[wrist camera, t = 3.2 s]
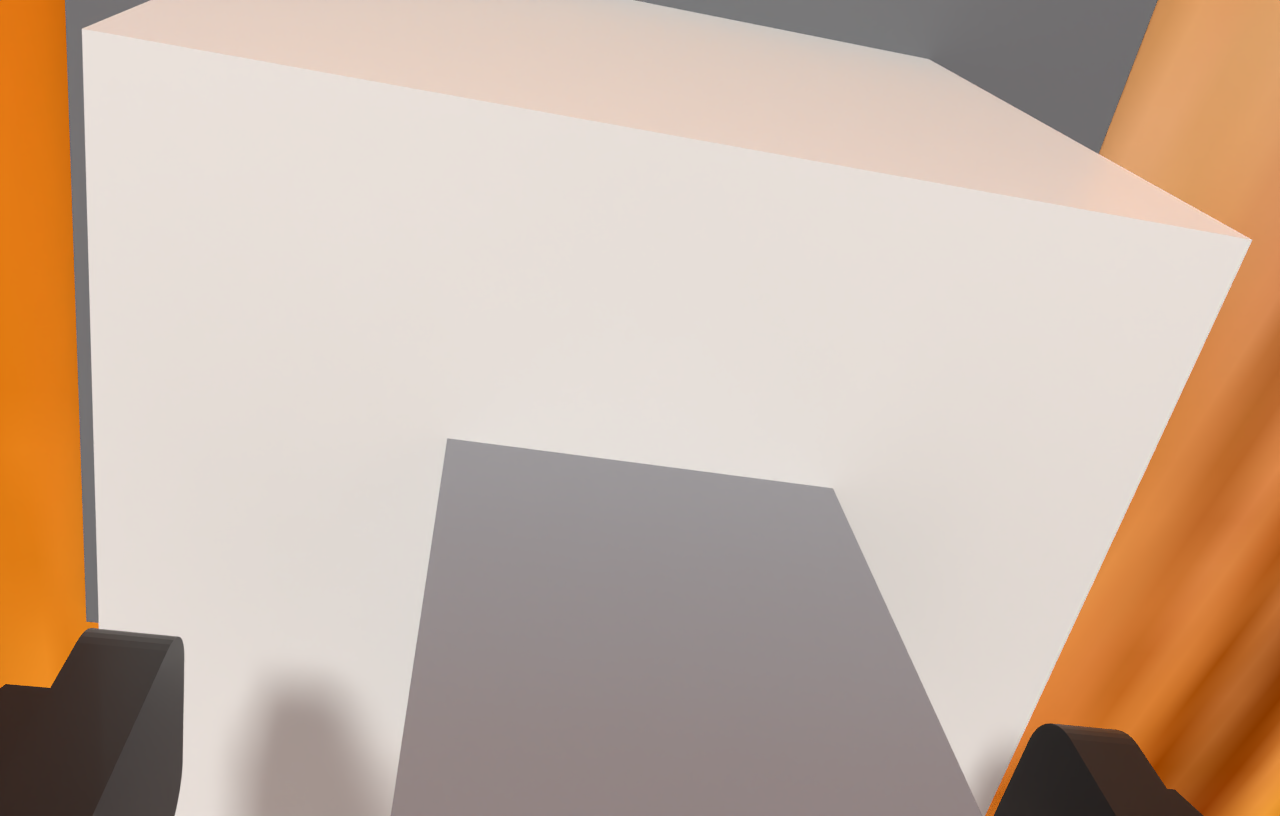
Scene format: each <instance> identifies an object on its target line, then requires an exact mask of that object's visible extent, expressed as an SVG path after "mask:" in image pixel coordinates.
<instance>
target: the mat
mask: <svg viewBox="0 0 1280 816" xmlns="http://www.w3.org/2000/svg"><path fill="white" fill-rule="evenodd" d="M147 1H150V0H65V11H66V40H67V69H68V98H69V127H70V156H71V185H72V214H73V243H74V272H75V301H76V330H77V359H78V388H79V417H80V446H81V475H82V504H83V533H84V562H85V591H86V619H87V622H97V623H99V615H98V580H97V545H96V510H95V474H94V439H93V404H92V369H91V333H90V298H89V263H88V228H87V192H86V157H85V122H84V87H83V51H82V28H85V27H87V26H90V25H92V24H94V23H97V22H99V21H102V20H104V19H106V18H109V17H111V16H114V15H116V14H119V13H121V12H123V11H126V10H128V9H131V8H133V7H135V6H138V5H140V4H143V3H145V2H147ZM636 1H641V2H646V3H651V4H656V5H661V6H666V7H671V8H676V9H681V10H686V11H691V12H696V13H701V14H706V15H711V16H716V17H721V18H726V19H731V20H736V21H741V22H746V23H751V24H756V25H761V26H766V27H771V28H776V29H781V30H786V31H791V32H796V33H801V34H806V35H811V36H816V37H821V38H826V39H831V40H836V41H841V42H846V43H851V44H856V45H861V46H866V47H871V48H876V49H881V50H886V51H891V52H896V53H901V54H906V55H911V56H916V57H921V58H926V59H930V60H931V61H933V62H935V63H937V64H938V65H940V66H942V67H944V68H946V69H947V70H949V71H951V72H953V73H955V74H956V75H958V76H960V77H962V78H964V79H965V80H967V81H969V82H971V83H972V84H974V85H976V86H978V87H980V88H981V89H983V90H985V91H987V92H989V93H990V94H992V95H994V96H996V97H997V98H999V99H1001V100H1003V101H1005V102H1006V103H1008V104H1010V105H1012V106H1014V107H1015V108H1017V109H1019V110H1021V111H1023V112H1024V113H1026V114H1028V115H1030V116H1031V117H1033V118H1035V119H1037V120H1039V121H1040V122H1042V123H1044V124H1046V125H1048V126H1049V127H1051V128H1053V129H1055V130H1057V131H1058V132H1060V133H1062V134H1064V135H1065V136H1067V137H1069V138H1071V139H1073V140H1074V141H1076V142H1078V143H1080V144H1082V145H1083V146H1085V147H1087V148H1089V149H1090V150H1092V151H1094V152H1096V153H1098V154H1099V151H1100V149H1101V146H1102V143H1103V141H1104V138H1105V136H1106V133H1107V130H1108V128H1109V125H1110V123H1111V120H1112V117H1113V115H1114V112H1115V110H1116V107H1117V104H1118V102H1119V99H1120V97H1121V94H1122V91H1123V89H1124V86H1125V84H1126V81H1127V78H1128V76H1129V73H1130V71H1131V68H1132V65H1133V63H1134V60H1135V58H1136V55H1137V52H1138V50H1139V47H1140V45H1141V42H1142V40H1143V37H1144V34H1145V32H1146V29H1147V27H1148V24H1149V21H1150V19H1151V16H1152V14H1153V11H1154V8H1155V6H1156V3H1157V1H1158V0H636Z"/></svg>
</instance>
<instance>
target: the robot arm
mask: <svg viewBox="0 0 1280 816" xmlns="http://www.w3.org/2000/svg"><path fill="white" fill-rule="evenodd" d="M183 714H184V644H183V640H182V639H181V637H178V636H168V635H158V634H147V633H137V632H127V631H116V630H106V629H96V628H90V629H87V630H86V631H85V632H84V633H83V634H82V635H81V636H80V638H79V639H78V641H77V643H76V644H75V646H74V648H73V650H72V651H71V653H70V655H69V657H68V658H67V660H66V662H65V664H64V665H63V667H62V669H61V670H60V672H59V674H58V676H57V677H56V679H55V681H54V683H53V684H52V686H51V688H43V687H32V686H21V685H9V684H5V685H4V686H3V687H1V688H0V816H175V812H176V808H177V803H178V798H179V792H180V786H181V778H182V766H183ZM994 816H1203V815H1202V814H1201V813H1200V812H1199V811H1197V810H1196V809H1195V808H1194V807H1193V806H1192V805H1191V804H1190V803H1189V802H1188V801H1186V800H1185V799H1184V798H1183V797H1182V796H1181V795H1180V794H1179V793H1178V792H1177V791H1176V790H1173V789H1167V788H1166V787H1165V785H1164V784H1163V782H1162V781H1161V779H1160V778H1159V776H1158V775H1157V773H1156V772H1155V770H1154V769H1153V767H1152V766H1151V764H1150V763H1149V761H1148V760H1147V758H1146V757H1145V755H1144V754H1143V752H1142V751H1141V749H1140V748H1139V746H1138V745H1137V744H1136V742H1135V741H1134V740H1133V739H1132V738H1131V737H1130V736H1129V735H1128V734H1126V733H1124V732H1122V731H1119V730H1113V729H1102V728H1092V727H1081V726H1071V725H1061V724H1044V725H1042V726H1040V727H1039V728H1038V729H1036V731H1035V732H1034V733H1033V734H1032V736H1031V738H1030V740H1029V742H1028V744H1027V746H1026V748H1025V750H1024V752H1023V754H1022V757H1021V759H1020V761H1019V763H1018V765H1017V767H1016V769H1015V772H1014V774H1013V776H1012V778H1011V780H1010V782H1009V784H1008V786H1007V789H1006V791H1005V793H1004V795H1003V797H1002V799H1001V801H1000V803H999V806H998V808H997V810H996V812H995V814H994Z"/></svg>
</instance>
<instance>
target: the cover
mask: <svg viewBox="0 0 1280 816" xmlns="http://www.w3.org/2000/svg"><path fill="white" fill-rule="evenodd" d="M82 51H83V87H84V122H85V157H86V192H87V228H88V263H89V298H90V333H91V369H92V404H93V439H94V474H95V510H96V545H97V580H98V615H99V629H106V630H116V631H127V632H137V633H147V634H158V635H168V636H178V637H181V639H182V640H183V644H184V714H183V766H182V778H181V786H180V792H179V798H178V803H177V808H176V812H175V816H985V814H986V812H987V810H988V808H989V806H990V804H991V802H992V799H993V797H994V795H995V793H996V791H997V789H998V786H999V784H1000V782H1001V780H1002V778H1003V776H1004V774H1005V771H1006V769H1007V767H1008V765H1009V763H1010V761H1011V758H1012V756H1013V754H1014V752H1015V750H1016V748H1017V746H1018V743H1019V741H1020V739H1021V737H1022V735H1023V733H1024V730H1025V728H1026V726H1027V724H1028V722H1029V720H1030V718H1031V715H1032V713H1033V711H1034V709H1035V707H1036V705H1037V702H1038V700H1039V698H1040V696H1041V694H1042V692H1043V690H1044V687H1045V685H1046V683H1047V681H1048V679H1049V677H1050V674H1051V672H1052V670H1053V668H1054V666H1055V664H1056V662H1057V659H1058V657H1059V655H1060V653H1061V651H1062V649H1063V646H1064V644H1065V642H1066V640H1067V638H1068V636H1069V634H1070V631H1071V629H1072V627H1073V625H1074V623H1075V621H1076V618H1077V616H1078V614H1079V612H1080V610H1081V608H1082V606H1083V603H1084V601H1085V599H1086V597H1087V595H1088V593H1089V590H1090V588H1091V586H1092V584H1093V582H1094V580H1095V578H1096V575H1097V573H1098V571H1099V569H1100V567H1101V565H1102V562H1103V560H1104V558H1105V556H1106V554H1107V552H1108V550H1109V547H1110V545H1111V543H1112V541H1113V539H1114V537H1115V534H1116V532H1117V530H1118V528H1119V526H1120V524H1121V522H1122V519H1123V517H1124V515H1125V513H1126V511H1127V509H1128V506H1129V504H1130V502H1131V500H1132V498H1133V496H1134V494H1135V491H1136V489H1137V487H1138V485H1139V483H1140V481H1141V478H1142V476H1143V474H1144V472H1145V470H1146V468H1147V466H1148V463H1149V461H1150V459H1151V457H1152V455H1153V453H1154V450H1155V448H1156V446H1157V444H1158V442H1159V440H1160V438H1161V435H1162V433H1163V431H1164V429H1165V427H1166V425H1167V422H1168V420H1169V418H1170V416H1171V414H1172V412H1173V410H1174V407H1175V405H1176V403H1177V401H1178V399H1179V397H1180V394H1181V392H1182V390H1183V388H1184V386H1185V384H1186V382H1187V379H1188V377H1189V375H1190V373H1191V371H1192V369H1193V366H1194V364H1195V362H1196V360H1197V358H1198V356H1199V354H1200V351H1201V349H1202V347H1203V345H1204V343H1205V341H1206V338H1207V336H1208V334H1209V332H1210V330H1211V328H1212V326H1213V323H1214V321H1215V319H1216V317H1217V315H1218V313H1219V310H1220V308H1221V306H1222V304H1223V302H1224V300H1225V298H1226V295H1227V293H1228V291H1229V289H1230V287H1231V285H1232V282H1233V280H1234V278H1235V276H1236V274H1237V272H1238V270H1239V267H1240V265H1241V263H1242V261H1243V259H1244V257H1245V254H1246V252H1247V250H1248V248H1249V246H1250V244H1251V242H1252V240H1251V239H1250V238H1248V237H1246V236H1244V235H1242V234H1241V233H1239V232H1237V231H1235V230H1234V229H1232V228H1230V227H1228V226H1226V225H1225V224H1223V223H1221V222H1219V221H1217V220H1216V219H1214V218H1212V217H1210V216H1209V215H1207V214H1205V213H1203V212H1201V211H1200V210H1198V209H1196V208H1194V207H1192V206H1191V205H1189V204H1187V203H1185V202H1183V201H1182V200H1180V199H1178V198H1176V197H1175V196H1173V195H1171V194H1169V193H1167V192H1166V191H1164V190H1162V189H1160V188H1158V187H1157V186H1155V185H1153V184H1151V183H1149V182H1148V181H1146V180H1144V179H1142V178H1141V177H1139V176H1137V175H1135V174H1133V173H1132V172H1130V171H1128V170H1126V169H1124V168H1123V167H1121V166H1119V165H1117V164H1116V163H1114V162H1112V161H1110V160H1108V159H1107V158H1105V157H1103V156H1101V155H1099V154H1098V153H1096V152H1094V151H1092V150H1090V149H1089V148H1087V147H1085V146H1083V145H1082V144H1080V143H1078V142H1076V141H1074V140H1073V139H1071V138H1069V137H1067V136H1065V135H1064V134H1062V133H1060V132H1058V131H1057V130H1055V129H1053V128H1051V127H1049V126H1048V125H1046V124H1044V123H1042V122H1040V121H1039V120H1037V119H1035V118H1033V117H1031V116H1030V115H1028V114H1026V113H1024V112H1023V111H1021V110H1019V109H1017V108H1015V107H1014V106H1012V105H1010V104H1008V103H1006V102H1005V101H1003V100H1001V99H999V98H997V97H996V96H994V95H992V94H990V93H989V92H987V91H985V90H983V89H981V88H980V87H978V86H976V85H974V84H972V83H971V82H969V81H967V80H965V79H964V78H962V77H960V76H958V75H956V74H955V73H953V72H951V71H949V70H947V69H946V68H944V67H942V66H940V65H938V64H937V63H935V62H933V61H931V60H930V59H926V58H921V57H916V56H911V55H906V54H901V53H896V52H891V51H886V50H881V49H876V48H871V47H866V46H861V45H856V44H851V43H846V42H841V41H836V40H831V39H826V38H821V37H816V36H811V35H806V34H801V33H796V32H791V31H786V30H781V29H776V28H771V27H766V26H761V25H756V24H751V23H746V22H741V21H736V20H731V19H726V18H721V17H716V16H711V15H706V14H701V13H696V12H691V11H686V10H681V9H676V8H671V7H666V6H661V5H656V4H651V3H646V2H641V1H636V0H150V1H147V2H145V3H143V4H140V5H138V6H135V7H133V8H131V9H128V10H126V11H123V12H121V13H119V14H116V15H114V16H111V17H109V18H106V19H104V20H102V21H99V22H97V23H94V24H92V25H90V26H87V27H85V28H82Z"/></svg>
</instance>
